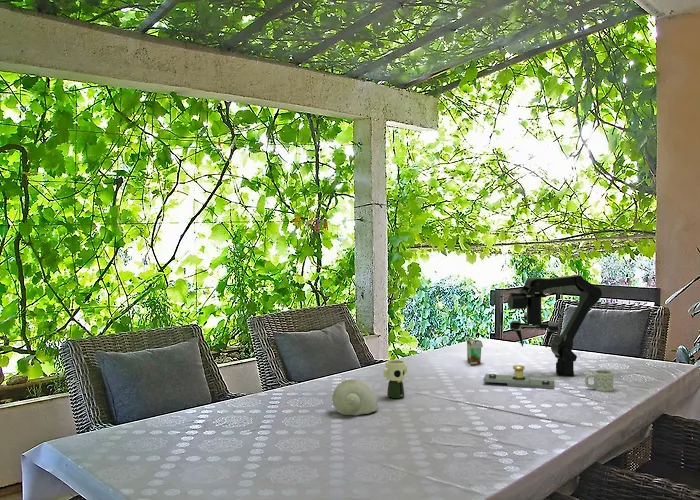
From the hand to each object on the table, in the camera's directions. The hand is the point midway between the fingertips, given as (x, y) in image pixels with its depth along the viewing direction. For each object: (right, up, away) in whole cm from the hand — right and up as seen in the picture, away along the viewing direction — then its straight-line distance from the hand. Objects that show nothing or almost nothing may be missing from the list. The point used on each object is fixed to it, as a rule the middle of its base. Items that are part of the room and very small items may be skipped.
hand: (534, 346), depth 268 cm
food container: (-19, -12, +26) cm, 34 cm away
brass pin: (-10, -13, -13) cm, 21 cm away
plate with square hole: (-10, -13, -13) cm, 21 cm away
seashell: (-73, -15, -46) cm, 88 cm away
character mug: (-58, -14, -29) cm, 67 cm away
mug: (+18, -13, -22) cm, 31 cm away
